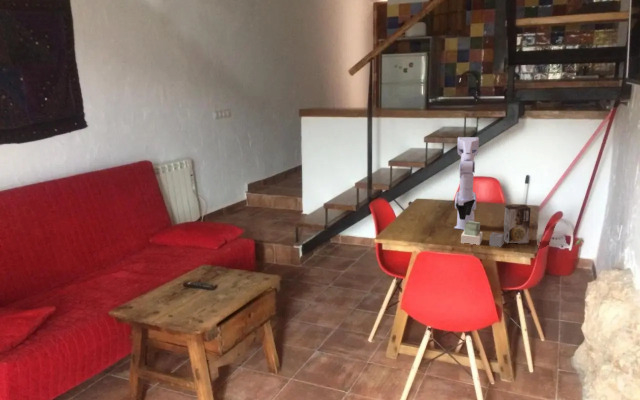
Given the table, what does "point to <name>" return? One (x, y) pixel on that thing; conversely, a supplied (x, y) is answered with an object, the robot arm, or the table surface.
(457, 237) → the table surface
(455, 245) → the table surface
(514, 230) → the coffee box
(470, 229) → the green cube
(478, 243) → the cream base block
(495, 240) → the grey cube
